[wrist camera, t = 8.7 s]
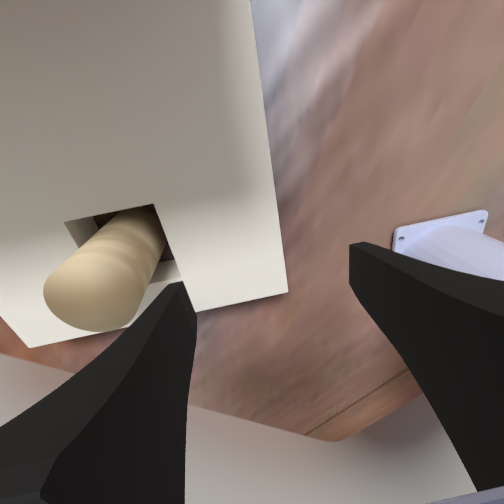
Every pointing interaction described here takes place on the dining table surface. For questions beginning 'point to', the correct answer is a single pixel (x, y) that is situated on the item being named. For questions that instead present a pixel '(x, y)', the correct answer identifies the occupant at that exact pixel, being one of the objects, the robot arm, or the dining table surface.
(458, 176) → the dining table surface
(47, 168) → the station
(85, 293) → the peg
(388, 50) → the dining table surface
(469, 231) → the robot arm
